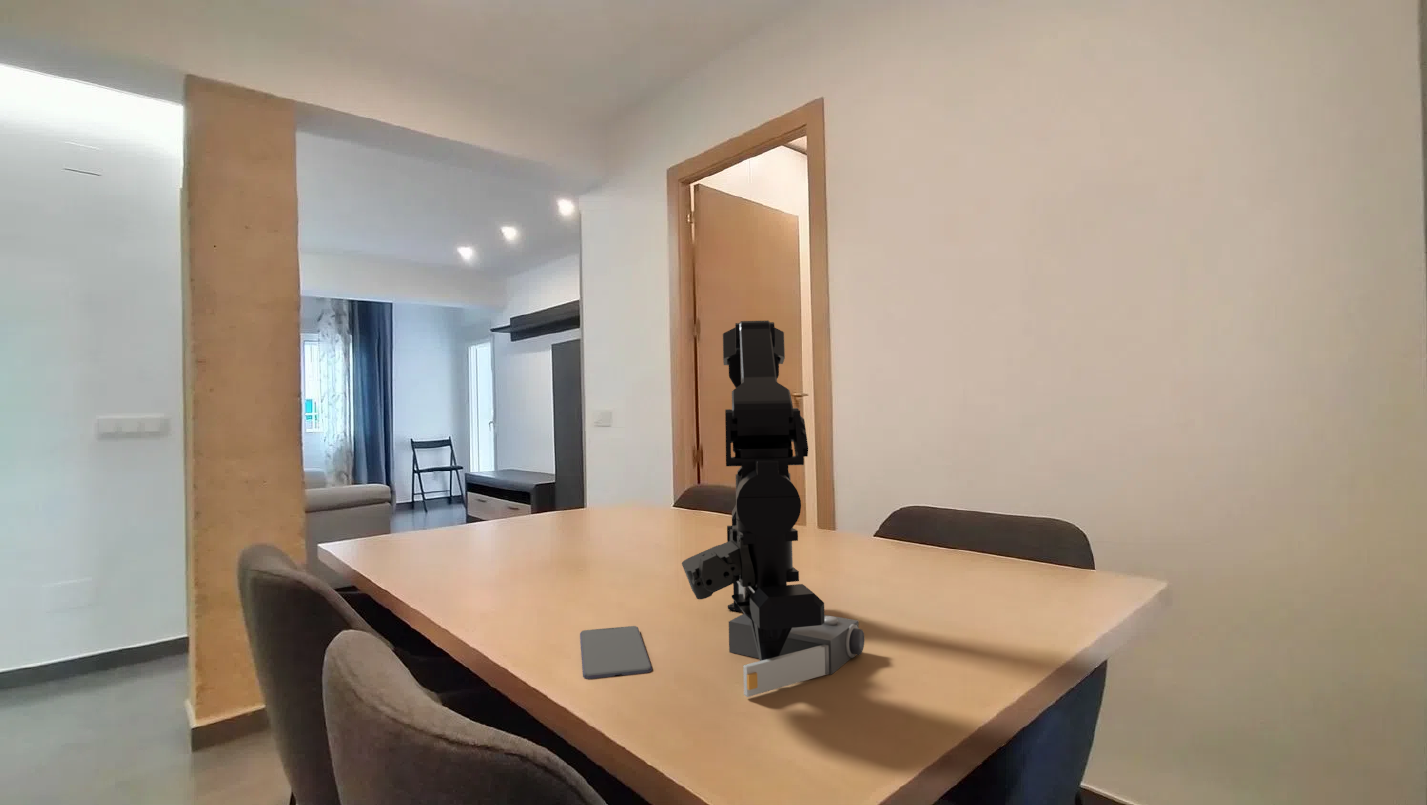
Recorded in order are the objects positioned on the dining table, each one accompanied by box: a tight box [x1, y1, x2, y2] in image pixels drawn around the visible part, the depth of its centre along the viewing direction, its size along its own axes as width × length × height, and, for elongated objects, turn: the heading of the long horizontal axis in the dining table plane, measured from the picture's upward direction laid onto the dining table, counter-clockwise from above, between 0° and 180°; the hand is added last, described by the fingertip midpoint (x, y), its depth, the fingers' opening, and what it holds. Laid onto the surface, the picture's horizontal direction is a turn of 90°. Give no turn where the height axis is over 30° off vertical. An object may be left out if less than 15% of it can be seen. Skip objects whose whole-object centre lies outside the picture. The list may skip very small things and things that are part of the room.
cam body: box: [728, 613, 865, 676], centre depth 76 cm, size 14×8×4 cm, turn 56°
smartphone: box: [579, 625, 653, 680], centre depth 77 cm, size 8×1×15 cm
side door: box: [742, 644, 830, 698], centre depth 66 cm, size 11×1×3 cm, turn 121°
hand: (767, 669), depth 67 cm, fingers closed
